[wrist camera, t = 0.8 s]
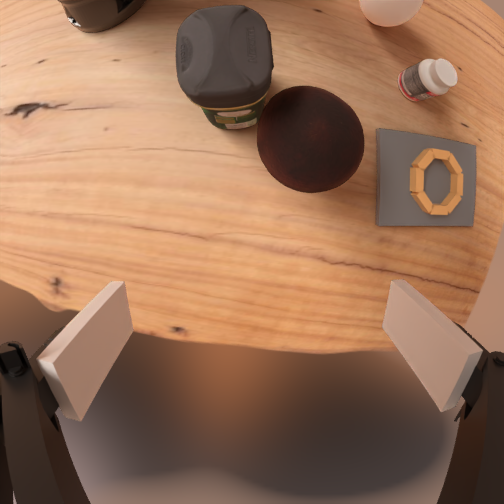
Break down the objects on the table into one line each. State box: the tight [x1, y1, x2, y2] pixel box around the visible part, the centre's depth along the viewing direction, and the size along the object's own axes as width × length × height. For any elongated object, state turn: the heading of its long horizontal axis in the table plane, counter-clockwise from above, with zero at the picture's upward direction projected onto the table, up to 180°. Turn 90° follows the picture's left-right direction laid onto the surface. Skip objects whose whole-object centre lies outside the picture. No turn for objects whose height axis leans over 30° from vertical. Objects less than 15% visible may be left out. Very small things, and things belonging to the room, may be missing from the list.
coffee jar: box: [176, 5, 274, 129], centre depth 26 cm, size 10×8×19 cm
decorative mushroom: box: [257, 86, 364, 193], centre depth 29 cm, size 11×11×15 cm
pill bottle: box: [398, 59, 458, 101], centre depth 29 cm, size 5×5×10 cm
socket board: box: [376, 128, 476, 226], centre depth 36 cm, size 14×20×3 cm
